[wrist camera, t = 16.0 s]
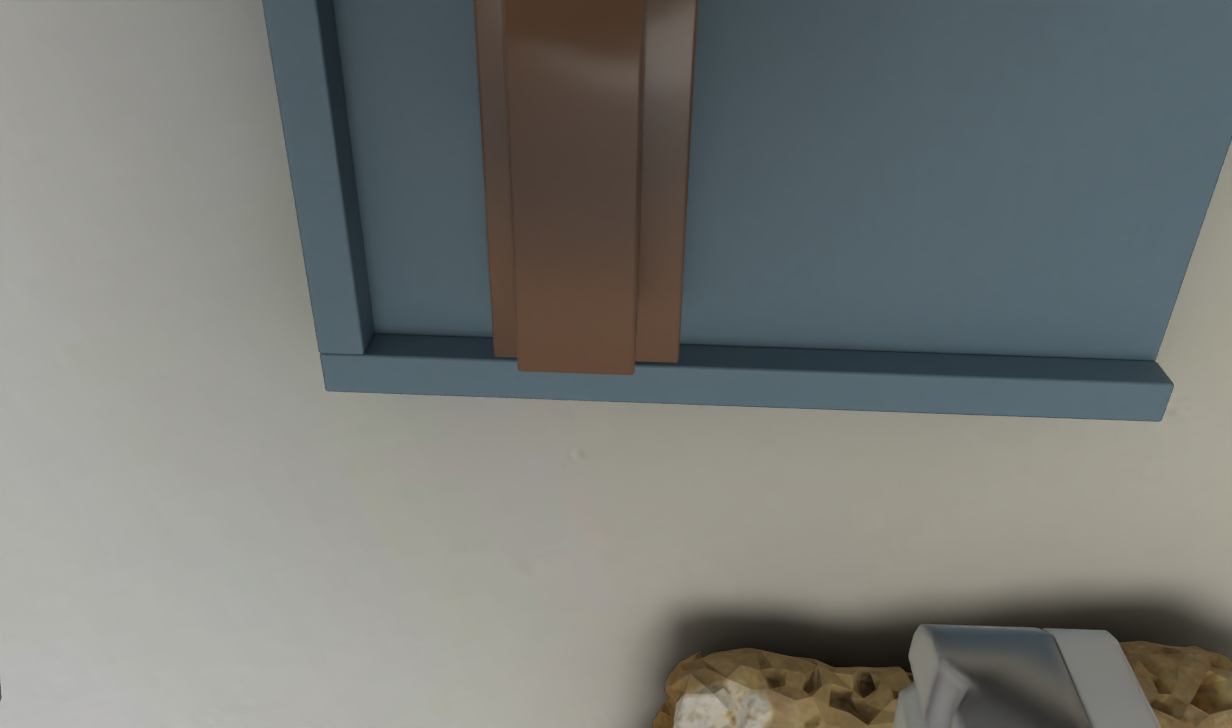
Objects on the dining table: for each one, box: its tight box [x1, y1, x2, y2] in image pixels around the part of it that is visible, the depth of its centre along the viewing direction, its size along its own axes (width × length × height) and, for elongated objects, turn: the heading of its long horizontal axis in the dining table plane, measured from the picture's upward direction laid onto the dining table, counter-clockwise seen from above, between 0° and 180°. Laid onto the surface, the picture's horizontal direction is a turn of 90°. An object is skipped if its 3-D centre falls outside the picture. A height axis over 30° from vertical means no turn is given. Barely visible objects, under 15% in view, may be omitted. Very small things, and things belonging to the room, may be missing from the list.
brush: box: [473, 0, 698, 375], centre depth 21 cm, size 12×4×6 cm, turn 179°
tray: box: [262, 0, 1232, 422], centre depth 23 cm, size 17×22×2 cm
